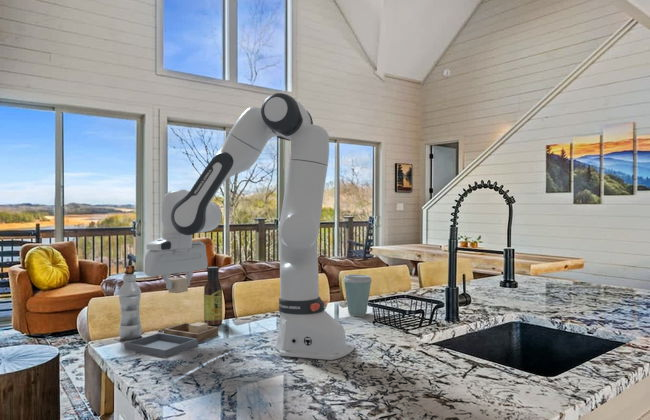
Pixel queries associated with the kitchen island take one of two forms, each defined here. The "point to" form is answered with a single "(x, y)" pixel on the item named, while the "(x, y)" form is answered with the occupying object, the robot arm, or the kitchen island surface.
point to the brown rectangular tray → (184, 331)
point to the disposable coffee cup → (357, 293)
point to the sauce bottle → (213, 298)
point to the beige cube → (179, 285)
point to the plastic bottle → (130, 308)
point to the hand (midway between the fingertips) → (178, 287)
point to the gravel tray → (161, 344)
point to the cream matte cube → (198, 327)
